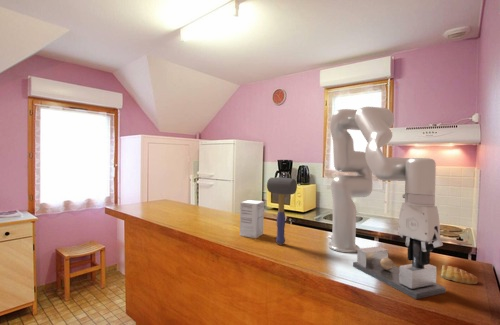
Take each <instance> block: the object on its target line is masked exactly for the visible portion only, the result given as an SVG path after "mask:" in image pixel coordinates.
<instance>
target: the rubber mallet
mask: <svg viewBox="0 0 500 325" xmlns="http://www.w3.org/2000/svg"><path fill="white" fill-rule="evenodd" d="M297 189H298V183H297V180H296V179H295V178H289V177H282V176H281V177H278V176H277V177H270V178H268V180H267V182H266V190H267V191H268V192H269V193H273V194H278V207H277V208H278V210H277V215H276V216H277V217H276V227H277V228H276V230H277V231H276V239H275V241H276V243H277V245H280V246H281V245H284V244H285V243H286V242H285V241H286V238H285V228H286V227H285V226H286V213H285V195H295V194H296V192H297V191H298V190H297Z"/></svg>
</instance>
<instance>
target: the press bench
mask: <svg viewBox="0 0 500 325" xmlns="http://www.w3.org/2000/svg"><path fill="white" fill-rule="evenodd" d="M356 253H357V258H356V261H352V267H353V268H355V269H357V270H359V271H361V272H362V273H365V274H366V275H369V276H371V278H374V279H375V280H378V281H380V282H382V283H384V284H386V285H388V286H389V287H392V288H394V289H395V290H397V291H399V292H401V293H402V294H405V295H407V296H409V297H410V298H412V299H414V300H418V299H423V298H427V297H431V296H435V295H436V296H437V295H441V294H446V292H447V291H446V287H445V286H444V285H441V284H439V283H436V284H433V285H428V286H423V287H418V288H413V289H411V288H409V287H407V286H405V285H403V284H401V283H399V273H400V266H396V265H394V266H393V268H392V269H391V270H384V269H383V268H382V267H381V265H380V261H381V259H383V258H389V249H387V248H384V247H383V246H382V247H381V246H371V247H362V248H359V249H358V251H357V252H356Z"/></svg>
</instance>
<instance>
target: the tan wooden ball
mask: <svg viewBox="0 0 500 325" xmlns="http://www.w3.org/2000/svg"><path fill="white" fill-rule="evenodd" d="M380 265H381V267H382V268H383V269H384V270H391V269H392V268H393V266H395V265H394V262H393V260H392V259H391V258H389V257H388V258H383V259H381V261H380Z"/></svg>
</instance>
